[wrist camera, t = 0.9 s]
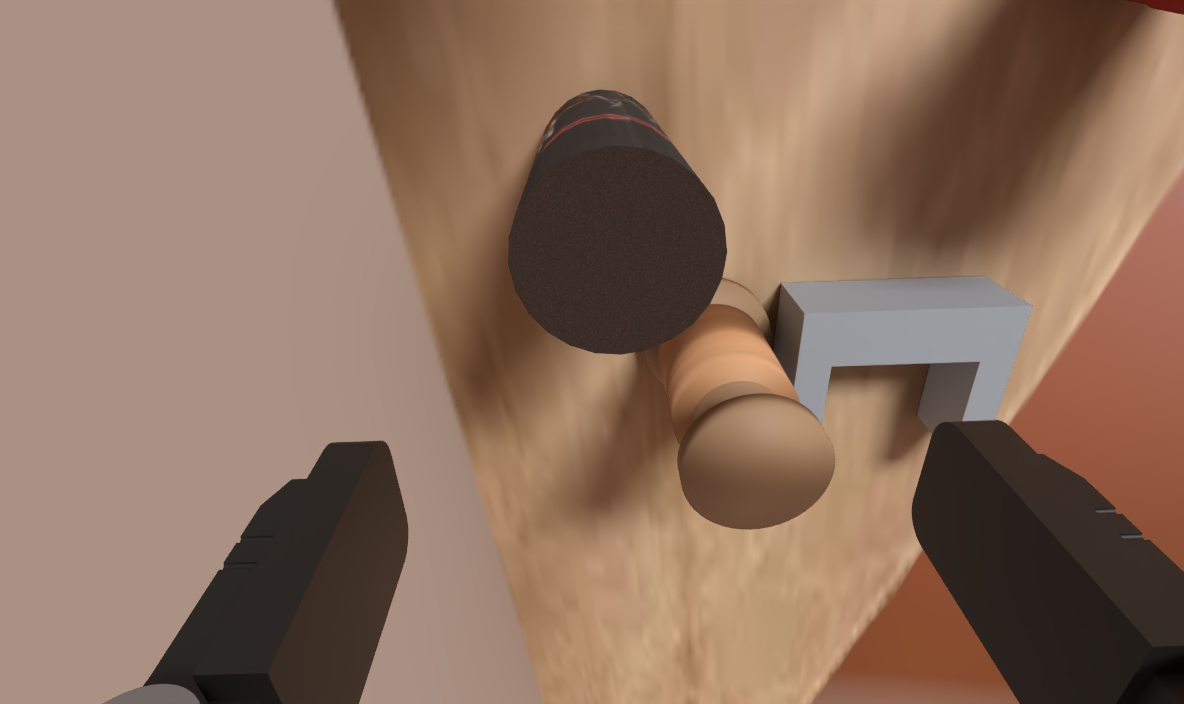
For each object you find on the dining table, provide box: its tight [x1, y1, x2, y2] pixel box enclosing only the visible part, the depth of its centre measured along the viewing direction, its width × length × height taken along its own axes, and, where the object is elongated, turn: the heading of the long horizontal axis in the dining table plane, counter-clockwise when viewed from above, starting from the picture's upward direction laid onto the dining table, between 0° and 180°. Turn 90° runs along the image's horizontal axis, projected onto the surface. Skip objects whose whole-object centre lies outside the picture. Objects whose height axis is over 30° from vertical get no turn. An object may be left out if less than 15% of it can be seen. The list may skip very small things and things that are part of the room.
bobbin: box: [644, 278, 835, 529], centre depth 29 cm, size 7×7×12 cm
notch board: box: [773, 276, 1033, 434], centre depth 34 cm, size 9×11×4 cm
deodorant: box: [509, 90, 727, 354], centre depth 23 cm, size 6×6×15 cm
